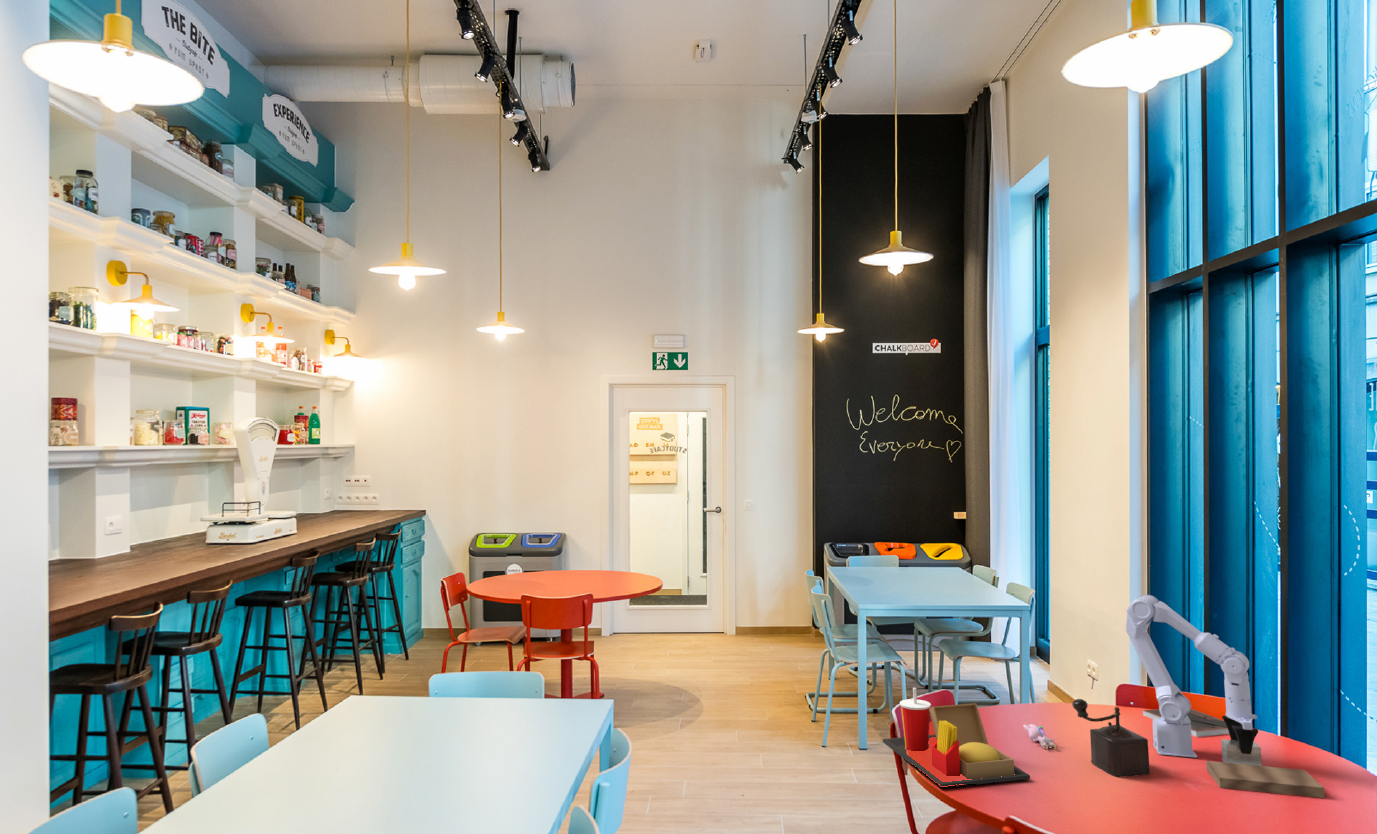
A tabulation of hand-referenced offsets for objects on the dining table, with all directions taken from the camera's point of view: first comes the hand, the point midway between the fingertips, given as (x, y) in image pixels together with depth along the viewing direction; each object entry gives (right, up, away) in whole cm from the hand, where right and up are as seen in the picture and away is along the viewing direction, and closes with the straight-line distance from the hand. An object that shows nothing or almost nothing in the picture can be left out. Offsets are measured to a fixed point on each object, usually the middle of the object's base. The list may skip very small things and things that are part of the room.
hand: (1241, 748), depth 215 cm
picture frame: (+8, -8, +34) cm, 36 cm away
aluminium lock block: (0, -5, 0) cm, 5 cm away
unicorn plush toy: (-46, -7, +20) cm, 51 cm away
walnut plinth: (-3, -4, -13) cm, 14 cm away
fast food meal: (-77, -7, +7) cm, 78 cm away
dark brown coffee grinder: (-36, -5, -1) cm, 37 cm away
